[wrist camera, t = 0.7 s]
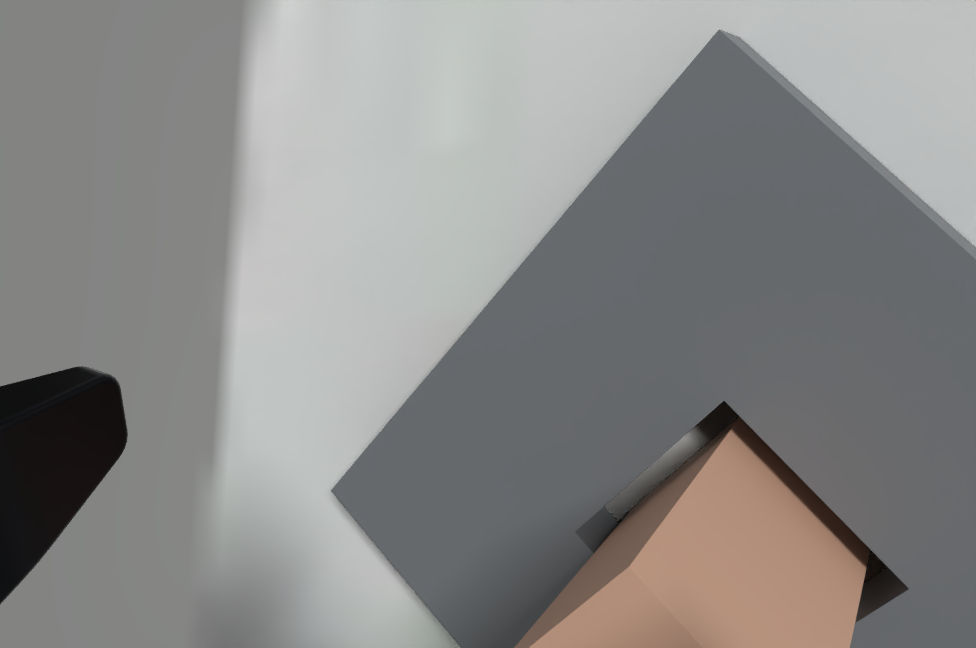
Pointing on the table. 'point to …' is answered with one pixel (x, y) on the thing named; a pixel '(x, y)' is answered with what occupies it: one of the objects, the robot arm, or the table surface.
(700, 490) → the tan rectangular block
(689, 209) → the pocket plate
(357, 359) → the table surface
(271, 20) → the table surface
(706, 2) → the table surface
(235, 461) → the table surface
